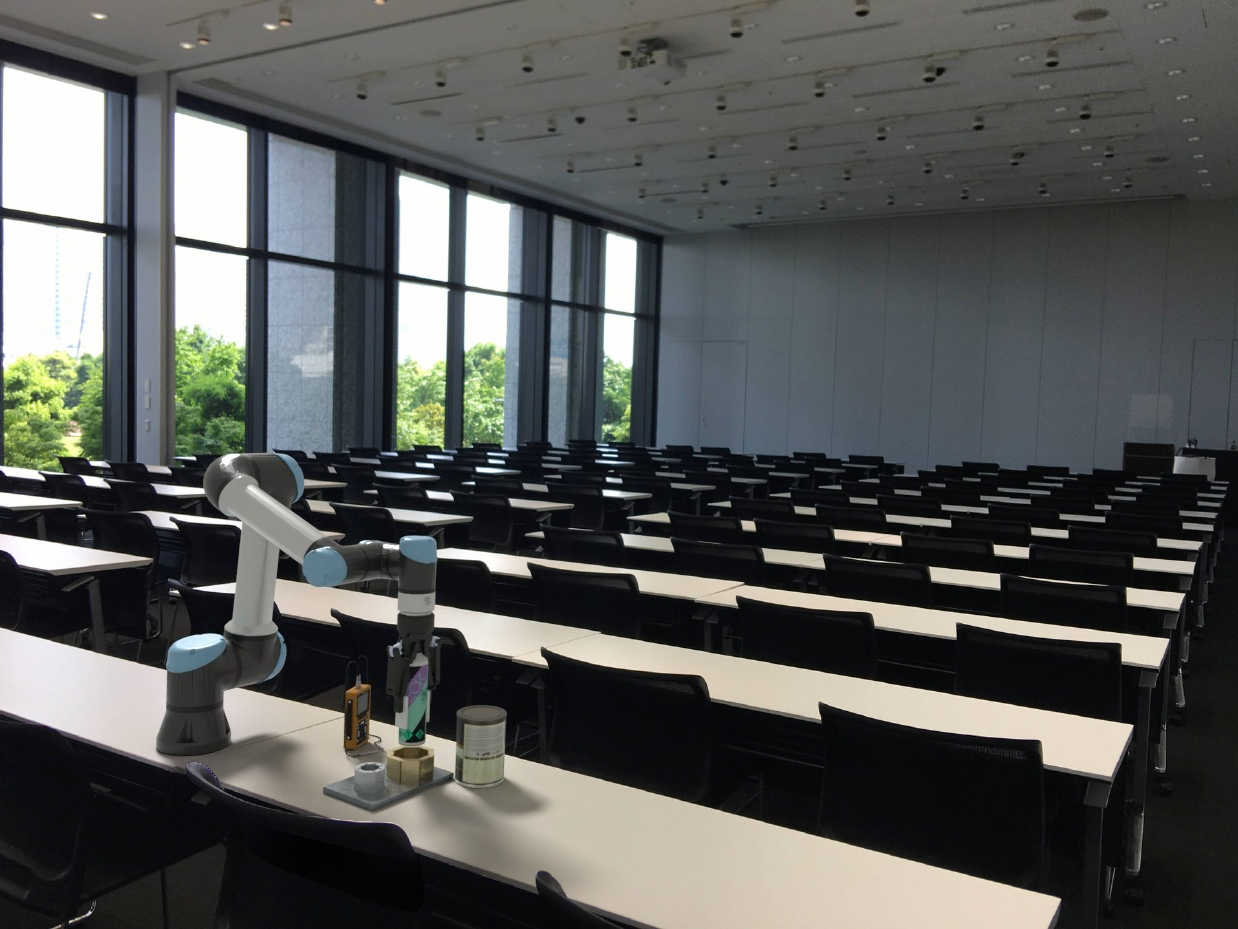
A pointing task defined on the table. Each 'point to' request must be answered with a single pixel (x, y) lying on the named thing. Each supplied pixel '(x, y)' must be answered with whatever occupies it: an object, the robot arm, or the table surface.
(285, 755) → the table surface
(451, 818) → the table surface
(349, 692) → the multimeter
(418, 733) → the spray can
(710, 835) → the table surface
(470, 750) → the coffee can
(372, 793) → the fitting plate
